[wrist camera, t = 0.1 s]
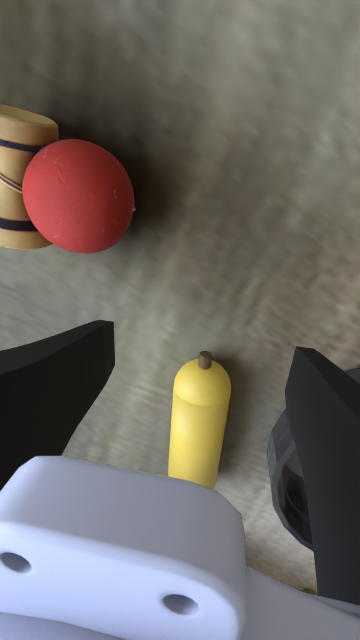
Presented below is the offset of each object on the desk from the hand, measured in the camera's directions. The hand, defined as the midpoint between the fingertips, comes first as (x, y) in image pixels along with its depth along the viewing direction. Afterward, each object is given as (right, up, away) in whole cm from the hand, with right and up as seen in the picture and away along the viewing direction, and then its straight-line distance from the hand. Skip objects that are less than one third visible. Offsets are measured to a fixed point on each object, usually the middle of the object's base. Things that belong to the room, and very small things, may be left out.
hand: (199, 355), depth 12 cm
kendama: (-12, +11, +9) cm, 18 cm away
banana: (+1, -7, +14) cm, 16 cm away
